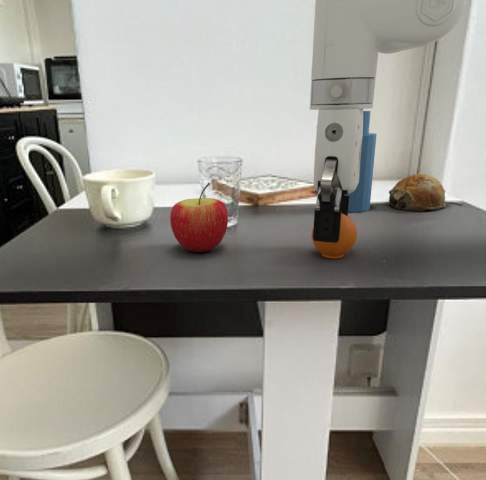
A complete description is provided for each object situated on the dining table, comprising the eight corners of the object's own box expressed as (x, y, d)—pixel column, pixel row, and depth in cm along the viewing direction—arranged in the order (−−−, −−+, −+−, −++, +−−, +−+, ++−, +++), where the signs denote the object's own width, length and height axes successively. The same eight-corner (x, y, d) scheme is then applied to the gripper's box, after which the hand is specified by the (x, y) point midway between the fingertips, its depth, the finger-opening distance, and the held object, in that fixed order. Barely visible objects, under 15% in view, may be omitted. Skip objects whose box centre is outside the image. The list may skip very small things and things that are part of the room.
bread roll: (438, 230, 82) (465, 192, 79) (389, 207, 82) (413, 168, 79) (423, 217, 91) (446, 182, 88) (378, 197, 91) (400, 161, 88)
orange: (335, 246, 65) (338, 206, 63) (364, 257, 60) (368, 214, 57) (302, 252, 63) (303, 211, 60) (328, 265, 57) (331, 220, 55)
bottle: (354, 204, 90) (362, 110, 83) (376, 209, 84) (386, 110, 78) (331, 207, 87) (336, 112, 81) (351, 213, 82) (359, 111, 76)
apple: (230, 257, 62) (228, 186, 58) (170, 259, 62) (165, 189, 58) (227, 240, 70) (225, 177, 66) (174, 242, 70) (169, 179, 66)
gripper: (369, 95, 45) (353, 253, 51) (377, 95, 60) (364, 218, 66) (296, 97, 48) (290, 247, 54) (321, 97, 62) (314, 215, 69)
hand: (330, 231), depth 60 cm, fingers open, 9 cm apart
